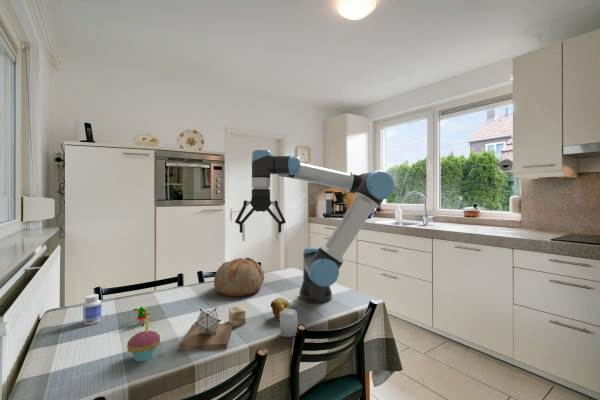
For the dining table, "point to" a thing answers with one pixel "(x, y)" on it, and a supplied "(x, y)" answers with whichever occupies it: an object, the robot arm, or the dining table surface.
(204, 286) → the dining table surface
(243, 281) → the bread
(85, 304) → the pill bottle
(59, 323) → the dining table surface
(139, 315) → the toy character
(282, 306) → the fruit
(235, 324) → the beech block
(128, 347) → the cupcake
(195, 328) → the board
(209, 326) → the game die
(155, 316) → the dining table surface
